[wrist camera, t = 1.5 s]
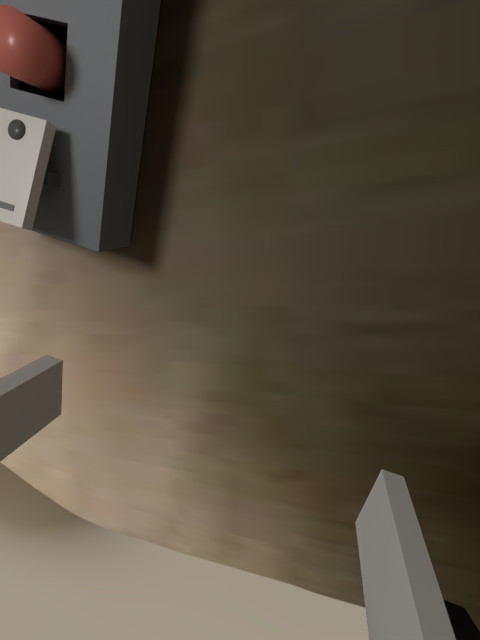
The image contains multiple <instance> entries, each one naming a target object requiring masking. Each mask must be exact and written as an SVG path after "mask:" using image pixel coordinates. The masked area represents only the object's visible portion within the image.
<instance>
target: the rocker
mask: <svg viewBox="0 0 480 640" xmlns="http://www.w3.org/2000/svg"><path fill="white" fill-rule="evenodd" d="M55 130H56V127H55V126H54V125H52V124H51V123H50V122H48V121H47V120H43V119H40V118H36V117H32V116H29V115H25V114H21V113H18V112H14V111H10V110H7V109H3V108H0V221H2V222H5V223H8V224H12V225H15V226H18V227H21V228H24V229H28V230H32V228H33V224H34V220H35V215H36V211H37V207H38V203H39V198H40V194H41V190H42V186H43V181H44V177H45V173H46V169H47V164H48V160H49V156H50V152H51V147H52V143H53V139H54V135H55Z"/></svg>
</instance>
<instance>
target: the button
mask: <svg viewBox="0 0 480 640" xmlns="http://www.w3.org/2000/svg"><path fill="white" fill-rule="evenodd" d="M66 52H67V46H66V45H65V43H64V42H63V41H62V40H61V39H60V38H59V37H58V36H56V35H55V34H53V33H52V32H50V31H49V30H47V29H46V28H44V27H43V26H41V25H40V24H38V23H37V22H35V21H34V20H32V19H31V18H29V17H28V16H26V15H25V14H23V13H22V12H20V11H19V10H17V9H16V8H14V7H12V6H10V5H0V71H1V72H3V73H5V74H7V75H9V76H12V77H14V78H16V79H18V80H21V81H23V82H25V83H28V84H30V85H32V86H34V87H37V88H39V89H41V90H44V91H46V92H49V93H58V92H60V91H62V90H63V89H64V88H65V73H66Z"/></svg>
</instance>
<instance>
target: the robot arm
mask: <svg viewBox="0 0 480 640" xmlns="http://www.w3.org/2000/svg"><path fill="white" fill-rule="evenodd" d="M62 365H63V360H60V359H57V358H54V357H51V356H48V355H46V356H44V357H42V358H40V359H38V360H36V361H34V362H32V363H30V364H28V365H26V366H24V367H23V368H21V369H19V370H17V371H15V372H13V373H11V374H9V375H7V376H5V377H3V378H1V379H0V461H1V460H3V459H4V458H5V457H6V456H8V455H9V454H10V453H12V452H13V451H14V450H15V449H17V448H18V447H19V446H21V445H22V444H23V443H24V442H26V441H27V440H28V439H30V438H31V437H32V436H33V435H35V434H36V433H37V432H39V431H40V430H41V429H42V428H44V427H45V426H46V425H48V424H49V423H50V422H51V421H53V420H54V419H55V418H57V417H58V416H59V415H60V414H61V402H62ZM356 530H357V539H358V547H359V556H360V564H361V573H362V581H363V590H364V598H365V607H366V615H367V624H368V632H369V640H480V632H479V630H478V628H477V627H476V625H475V624H474V622H473V621H472V619H471V618H470V616H469V614H468V613H467V611H466V610H465V608H463V607H461V606H458V605H456V604H453V603H450V602H448V601H445V600H443V598H442V595H441V592H440V589H439V585H438V582H437V579H436V576H435V573H434V570H433V567H432V564H431V560H430V557H429V554H428V551H427V548H426V545H425V542H424V539H423V536H422V532H421V529H420V526H419V523H418V520H417V517H416V514H415V511H414V507H413V504H412V501H411V498H410V495H409V492H408V489H407V486H406V483H405V479H404V477H403V476H400V475H397V474H394V473H391V472H388V471H385V470H381V472H380V474H379V476H378V478H377V480H376V482H375V484H374V486H373V488H372V490H371V492H370V494H369V496H368V498H367V500H366V502H365V504H364V506H363V508H362V510H361V512H360V514H359V516H358V518H357V520H356Z"/></svg>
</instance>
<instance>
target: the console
mask: <svg viewBox="0 0 480 640" xmlns="http://www.w3.org/2000/svg"><path fill="white" fill-rule="evenodd" d="M0 5H10V6H12V7H14V8H16V9H17V10H19V11H20V12H22V13H23V14H25V15H26V16H28V17H29V18H31V19H34V20H38V21H42V22H47V23H51V24H56V25H60V26H64V27H68V30H67V52H66V73H65V95H64V102H63V101H59V100H55V99H52V98H48V97H44V96H40V95H36V94H32V93H29V92H27V83H25V82H23V81H21V80H18V79H16V78H14V77H12V76H9V75H7V74H5V73H3V72H1V71H0V108H3V109H7V110H10V111H14V112H18V113H21V114H25V115H29V116H32V117H36V118H40V119H43V120H47V121H48V122H50V123H51V124H52V125H54V126H55V127H56V130H55V135H54V139H53V143H52V147H51V152H50V156H49V160H48V164H47V169H46V173H45V177H44V181H43V186H42V190H41V194H40V198H39V203H38V207H37V211H36V215H35V220H34V224H33V228H32V231H36V232H39V233H42V234H45V235H48V236H51V237H54V238H57V239H60V240H63V241H66V242H69V243H72V244H75V245H79V246H82V247H85V248H88V249H91V250H94V251H97V252H101V251H107V250H112V249H118V248H123V247H129V245H130V238H131V230H132V222H133V214H134V207H135V199H136V191H137V183H138V176H139V168H140V160H141V152H142V145H143V137H144V129H145V121H146V113H147V106H148V98H149V90H150V82H151V75H152V67H153V59H154V51H155V44H156V36H157V28H158V20H159V13H160V5H161V0H0Z"/></svg>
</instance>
